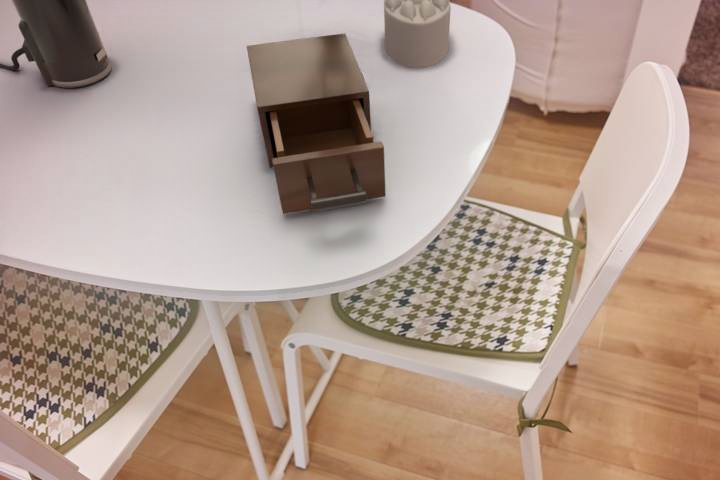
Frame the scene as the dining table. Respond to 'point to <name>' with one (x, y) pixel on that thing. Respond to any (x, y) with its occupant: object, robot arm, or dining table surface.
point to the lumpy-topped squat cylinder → (417, 31)
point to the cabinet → (304, 78)
